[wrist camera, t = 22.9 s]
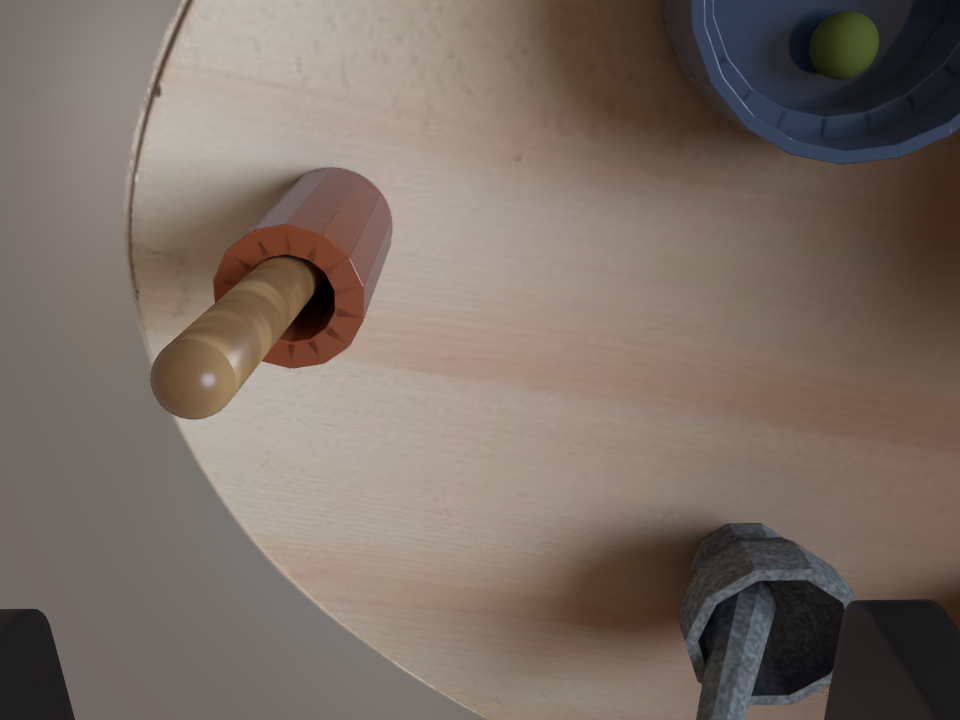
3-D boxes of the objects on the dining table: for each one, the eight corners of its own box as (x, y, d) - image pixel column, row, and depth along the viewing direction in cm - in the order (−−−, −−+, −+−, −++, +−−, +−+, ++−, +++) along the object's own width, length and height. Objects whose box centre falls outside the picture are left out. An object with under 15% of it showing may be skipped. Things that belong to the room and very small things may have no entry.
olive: (787, 60, 42) (824, 4, 41) (836, 94, 42) (875, 39, 42) (810, 52, 39) (850, -9, 38) (863, 89, 39) (904, 30, 39)
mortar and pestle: (772, 470, 52) (851, 601, 41) (846, 574, 55) (939, 722, 44) (614, 564, 54) (647, 711, 43) (693, 659, 57) (743, 819, 46)
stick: (303, 238, 45) (124, 408, 24) (322, 198, 45) (155, 337, 24) (344, 260, 46) (203, 447, 25) (364, 221, 45) (236, 378, 24)
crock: (260, 247, 46) (190, 327, 35) (307, 144, 44) (250, 196, 33) (361, 298, 48) (325, 392, 37) (412, 201, 45) (390, 269, 34)
